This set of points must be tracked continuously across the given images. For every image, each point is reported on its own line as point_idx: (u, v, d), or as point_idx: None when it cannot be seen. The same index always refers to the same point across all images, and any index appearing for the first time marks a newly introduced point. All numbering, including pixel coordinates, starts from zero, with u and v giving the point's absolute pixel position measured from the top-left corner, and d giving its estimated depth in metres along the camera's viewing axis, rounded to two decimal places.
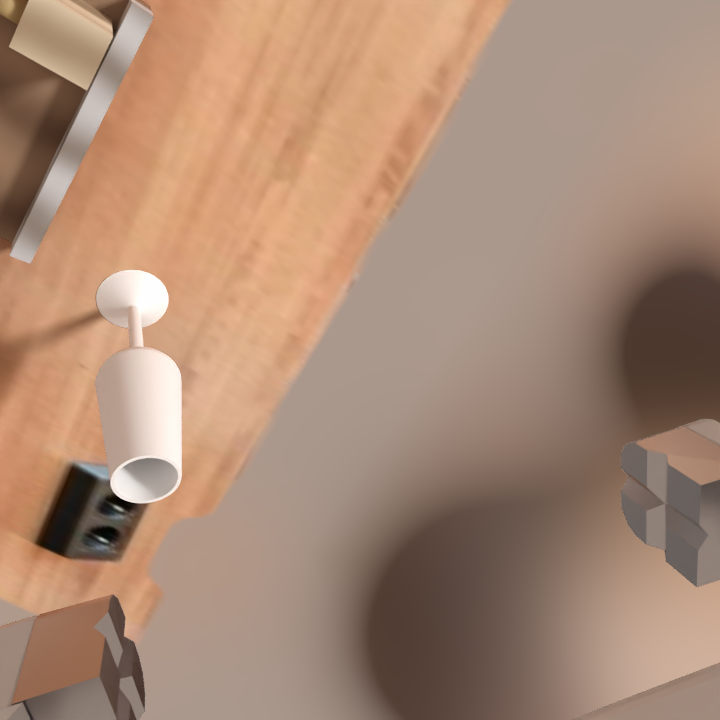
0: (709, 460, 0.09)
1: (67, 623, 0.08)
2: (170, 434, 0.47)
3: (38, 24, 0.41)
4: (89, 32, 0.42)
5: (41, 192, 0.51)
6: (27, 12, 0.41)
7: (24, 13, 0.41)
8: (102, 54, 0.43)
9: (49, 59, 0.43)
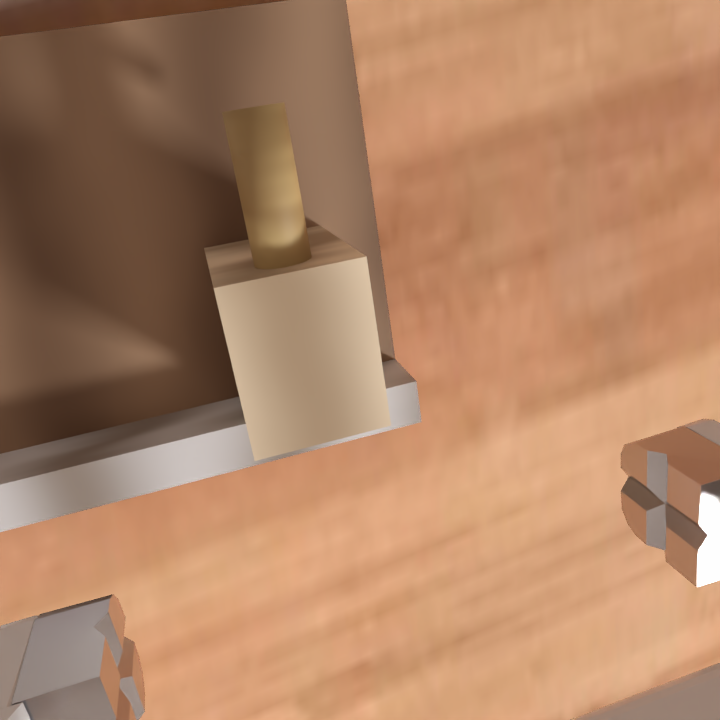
0: (709, 460, 0.09)
1: (67, 623, 0.08)
2: None
3: (306, 306, 0.17)
4: (366, 389, 0.18)
5: None
6: (311, 276, 0.17)
7: (305, 271, 0.17)
8: (345, 434, 0.19)
9: (256, 366, 0.17)
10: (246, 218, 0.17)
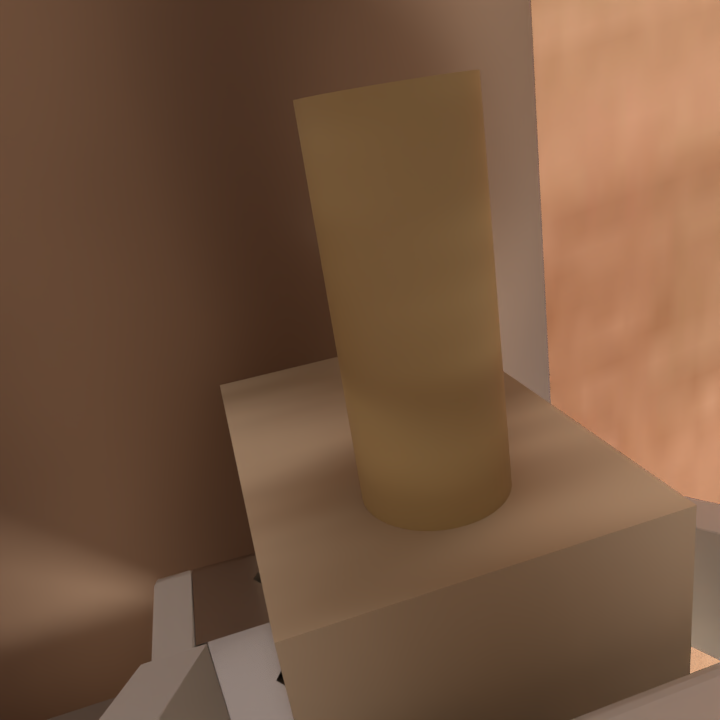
0: None
1: (225, 576, 0.09)
2: None
3: (528, 648, 0.06)
4: None
5: None
6: (551, 571, 0.06)
7: (535, 563, 0.06)
8: None
9: None
10: (355, 397, 0.06)
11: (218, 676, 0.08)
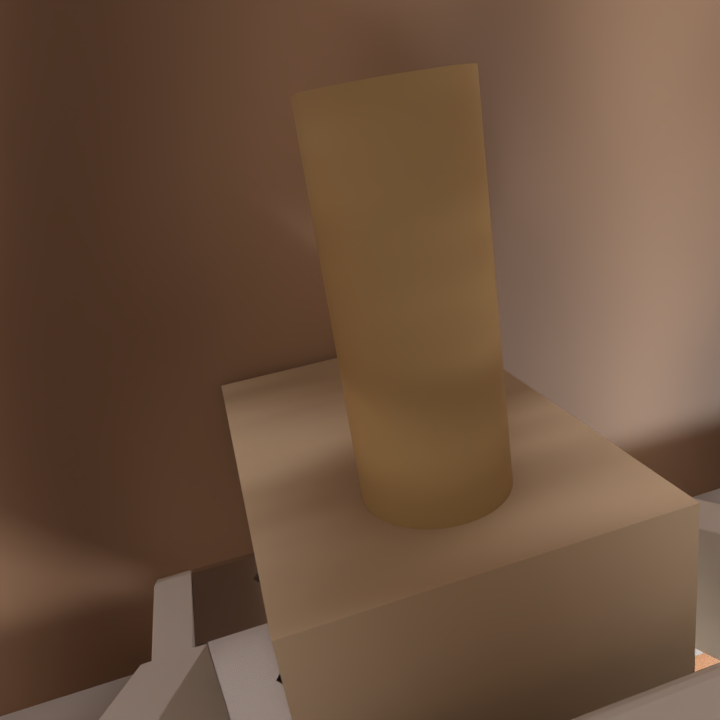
0: None
1: (226, 576, 0.09)
2: None
3: (529, 648, 0.06)
4: None
5: None
6: (553, 569, 0.06)
7: (536, 561, 0.06)
8: None
9: None
10: (353, 394, 0.06)
11: (218, 676, 0.08)
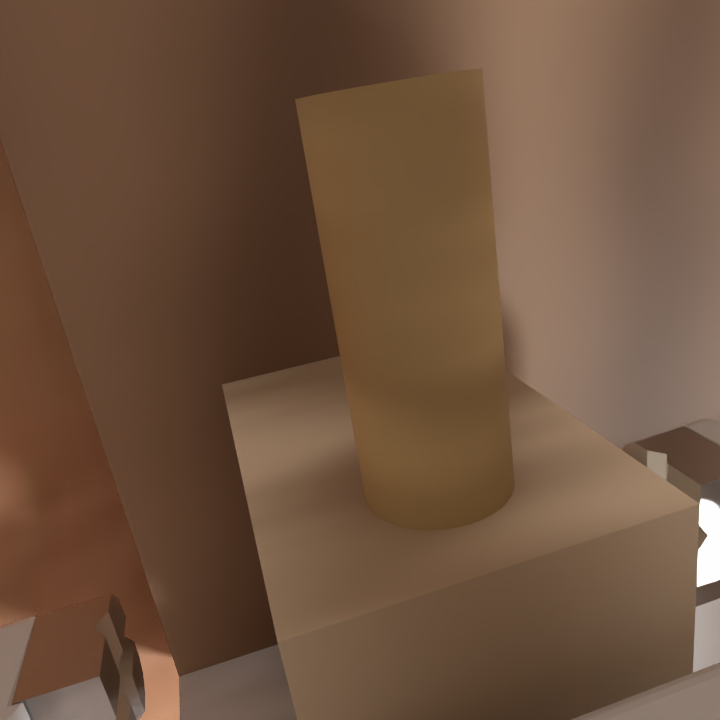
0: (709, 460, 0.09)
1: (67, 623, 0.08)
2: None
3: (531, 647, 0.06)
4: None
5: None
6: (555, 569, 0.06)
7: (539, 562, 0.06)
8: None
9: None
10: (357, 396, 0.06)
11: None
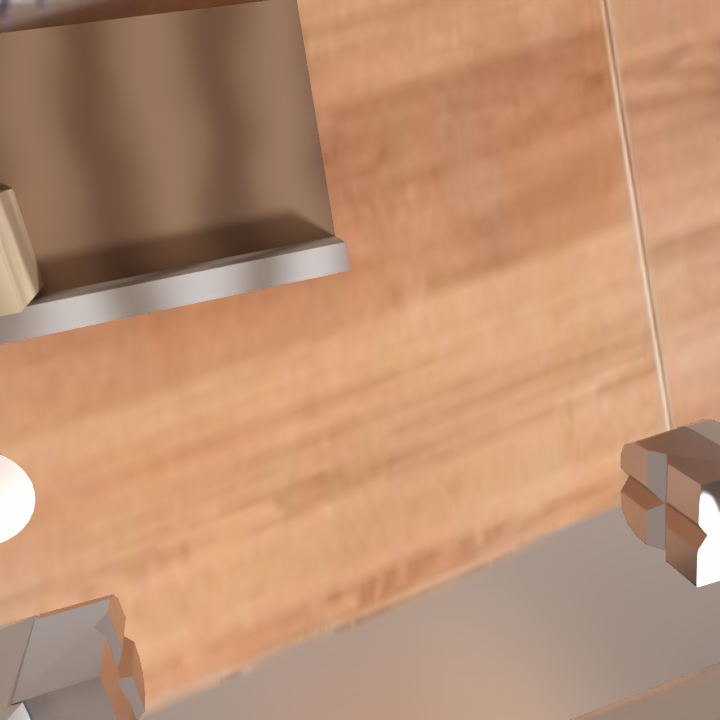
0: (709, 460, 0.09)
1: (67, 623, 0.08)
2: None
3: None
4: None
5: (43, 304, 0.33)
6: None
7: None
8: None
9: None
10: None
11: None
